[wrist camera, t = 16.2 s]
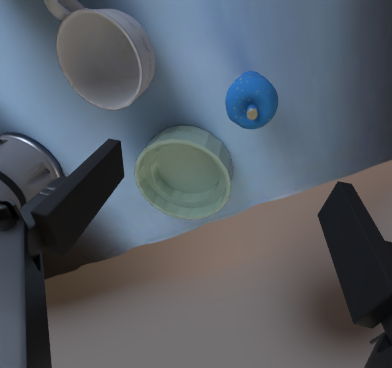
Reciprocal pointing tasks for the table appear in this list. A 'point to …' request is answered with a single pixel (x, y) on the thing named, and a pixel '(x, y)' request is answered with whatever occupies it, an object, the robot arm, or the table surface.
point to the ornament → (251, 101)
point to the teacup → (103, 53)
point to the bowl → (185, 172)
